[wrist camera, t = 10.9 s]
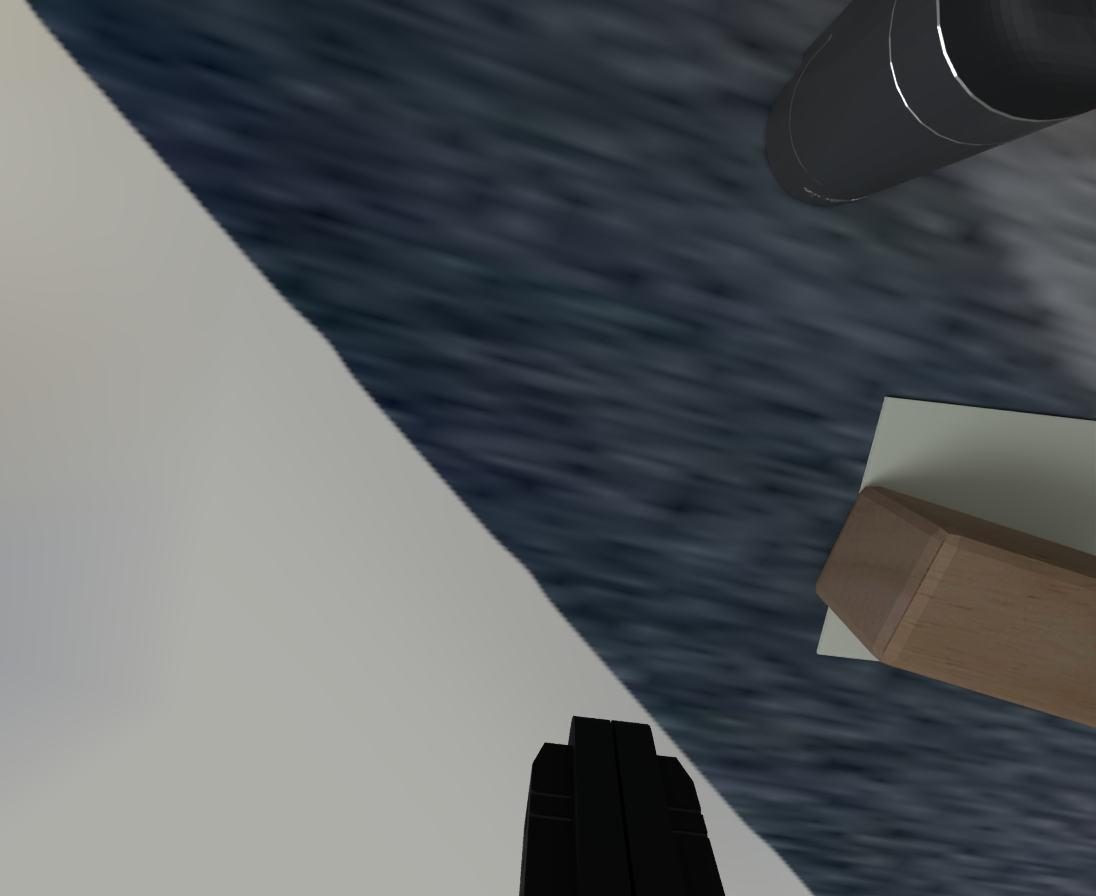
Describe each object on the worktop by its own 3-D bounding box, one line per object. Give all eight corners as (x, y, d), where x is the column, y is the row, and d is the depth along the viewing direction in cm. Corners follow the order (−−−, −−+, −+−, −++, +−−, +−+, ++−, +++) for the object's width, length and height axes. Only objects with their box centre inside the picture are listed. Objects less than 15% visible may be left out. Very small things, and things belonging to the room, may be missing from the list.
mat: (884, 396, 40) (887, 397, 40) (1175, 430, 41) (1179, 430, 40) (816, 651, 46) (818, 654, 46) (1072, 681, 46) (1075, 683, 46)
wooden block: (950, 528, 32) (1248, 623, 33) (860, 478, 42) (1093, 553, 43) (875, 667, 34) (1155, 751, 35) (806, 589, 44) (1027, 657, 45)
